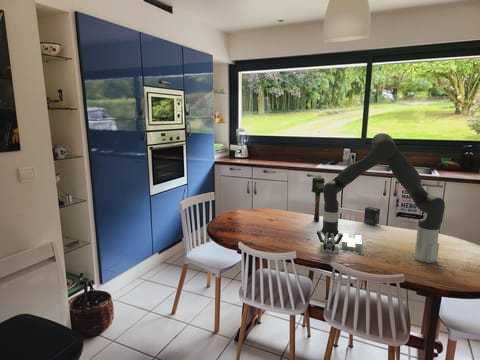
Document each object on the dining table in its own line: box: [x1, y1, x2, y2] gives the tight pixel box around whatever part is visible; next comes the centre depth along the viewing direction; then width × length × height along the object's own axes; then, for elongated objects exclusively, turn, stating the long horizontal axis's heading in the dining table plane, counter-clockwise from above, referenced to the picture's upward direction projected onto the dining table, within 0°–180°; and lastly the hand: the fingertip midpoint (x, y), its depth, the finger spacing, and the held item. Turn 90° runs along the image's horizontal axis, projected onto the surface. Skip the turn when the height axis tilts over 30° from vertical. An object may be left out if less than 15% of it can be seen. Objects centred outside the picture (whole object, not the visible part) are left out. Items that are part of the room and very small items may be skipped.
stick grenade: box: [310, 176, 325, 223], centre depth 216 cm, size 8×9×30 cm
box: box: [363, 206, 381, 226], centre depth 214 cm, size 8×6×11 cm
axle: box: [326, 238, 332, 250], centre depth 174 cm, size 18×3×3 cm, turn 161°
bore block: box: [341, 233, 363, 252], centre depth 179 cm, size 12×10×4 cm
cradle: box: [319, 238, 340, 254], centre depth 175 cm, size 8×9×4 cm
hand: (328, 250), depth 169 cm, fingers closed on axle, 3 cm apart
